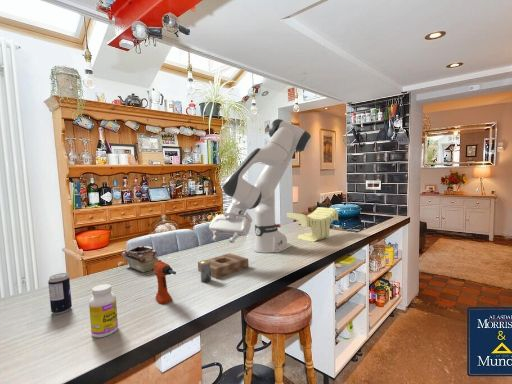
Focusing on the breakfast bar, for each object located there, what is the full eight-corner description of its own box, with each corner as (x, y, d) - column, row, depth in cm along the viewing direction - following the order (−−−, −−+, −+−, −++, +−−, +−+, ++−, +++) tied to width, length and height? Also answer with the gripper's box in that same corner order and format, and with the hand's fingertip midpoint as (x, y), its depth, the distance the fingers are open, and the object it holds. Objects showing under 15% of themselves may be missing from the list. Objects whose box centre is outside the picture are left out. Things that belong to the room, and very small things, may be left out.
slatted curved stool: (307, 245, 161) (306, 214, 160) (288, 240, 174) (286, 212, 173) (338, 236, 180) (337, 208, 179) (318, 232, 193) (318, 207, 191)
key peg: (207, 278, 116) (206, 259, 116) (213, 280, 113) (211, 261, 113) (199, 280, 114) (198, 261, 113) (204, 283, 111) (203, 263, 110)
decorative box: (131, 277, 121) (129, 255, 121) (115, 268, 136) (113, 248, 135) (160, 269, 131) (158, 249, 130) (142, 261, 145) (140, 242, 144)
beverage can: (74, 310, 93) (71, 274, 92) (53, 317, 89) (50, 280, 88) (69, 305, 97) (66, 271, 96) (49, 311, 92) (45, 276, 92)
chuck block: (230, 261, 138) (229, 253, 138) (248, 267, 128) (248, 258, 127) (198, 270, 126) (197, 262, 126) (215, 278, 116) (215, 269, 115)
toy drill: (172, 313, 85) (166, 265, 85) (153, 300, 99) (149, 260, 100) (186, 308, 88) (181, 262, 88) (166, 296, 102) (162, 257, 102)
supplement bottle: (103, 340, 74) (99, 293, 74) (85, 336, 77) (82, 290, 76) (123, 327, 81) (120, 284, 80) (106, 323, 83) (103, 281, 82)
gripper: (213, 210, 133) (200, 235, 125) (249, 212, 122) (238, 239, 115) (220, 218, 137) (208, 242, 129) (255, 220, 127) (244, 247, 119)
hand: (222, 241), depth 122 cm, fingers open, 8 cm apart
